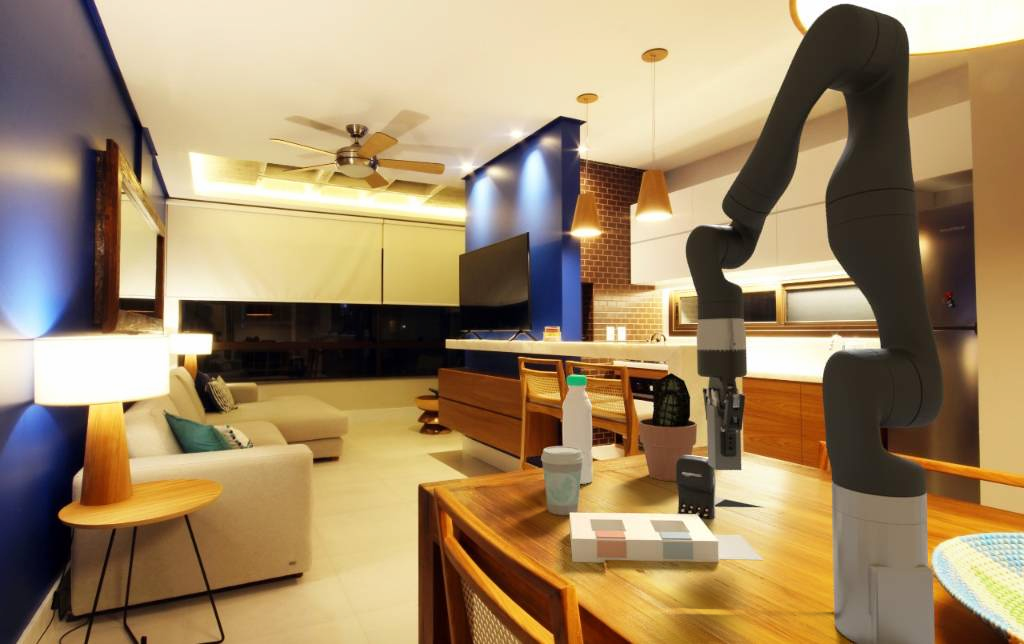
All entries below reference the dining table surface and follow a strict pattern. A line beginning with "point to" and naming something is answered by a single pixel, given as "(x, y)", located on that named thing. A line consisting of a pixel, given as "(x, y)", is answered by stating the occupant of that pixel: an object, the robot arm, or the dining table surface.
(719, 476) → the dining table surface
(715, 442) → the plug
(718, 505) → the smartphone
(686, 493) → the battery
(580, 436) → the water bottle
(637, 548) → the dock
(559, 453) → the coffee cup
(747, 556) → the mat
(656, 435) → the potted plant
